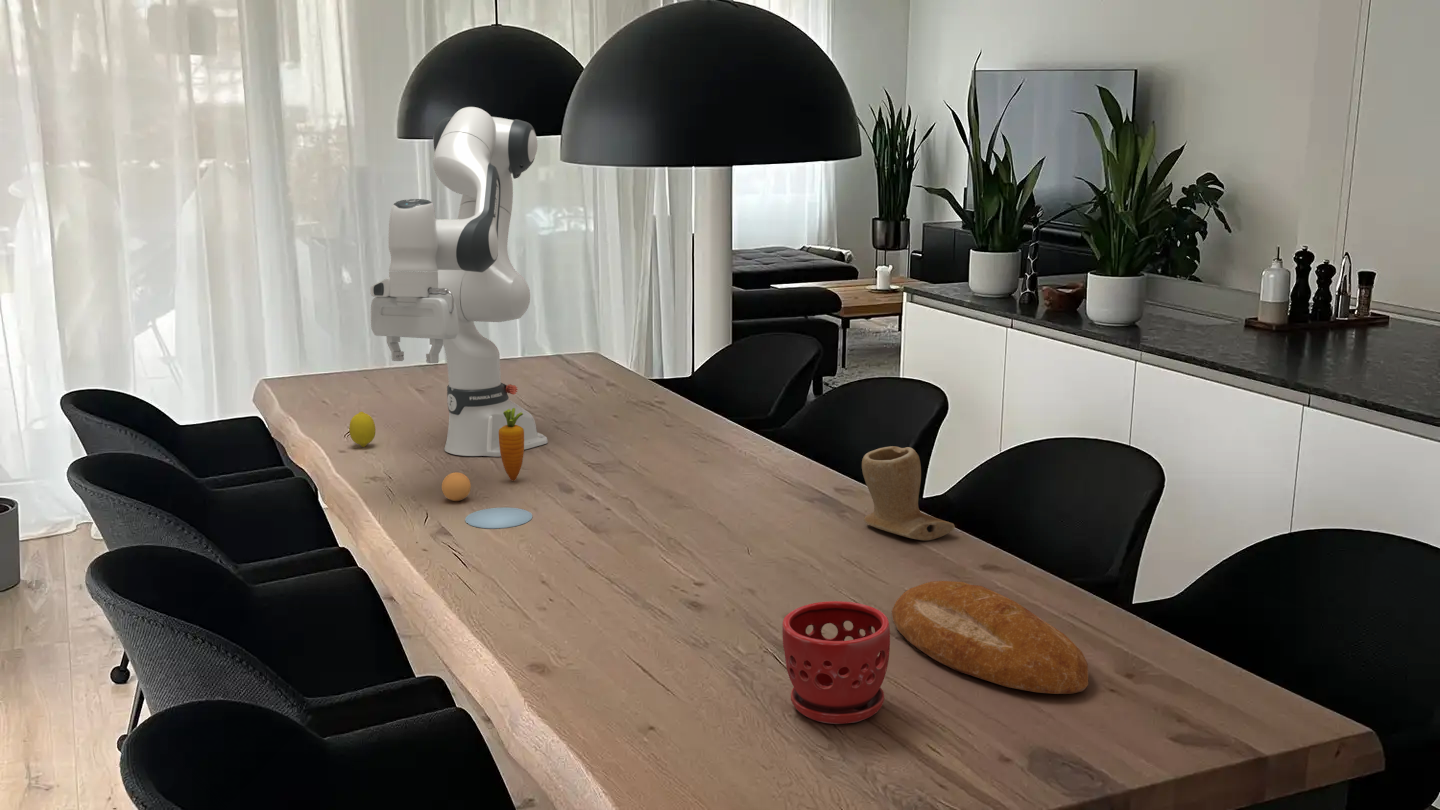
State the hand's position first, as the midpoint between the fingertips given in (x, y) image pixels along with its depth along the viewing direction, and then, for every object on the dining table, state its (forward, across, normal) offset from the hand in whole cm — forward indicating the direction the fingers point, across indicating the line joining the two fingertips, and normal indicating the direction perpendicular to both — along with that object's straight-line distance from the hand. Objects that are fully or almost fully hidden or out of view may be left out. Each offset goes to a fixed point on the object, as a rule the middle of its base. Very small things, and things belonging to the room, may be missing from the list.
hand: (414, 362), depth 250 cm
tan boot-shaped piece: (+28, -83, -36) cm, 95 cm away
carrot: (+25, -4, -21) cm, 33 cm away
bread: (+35, -116, +3) cm, 121 cm away
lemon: (+22, +42, -22) cm, 52 cm away
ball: (+24, -5, -6) cm, 25 cm away
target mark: (+28, -19, -2) cm, 34 cm away
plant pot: (+37, -108, +30) cm, 118 cm away
